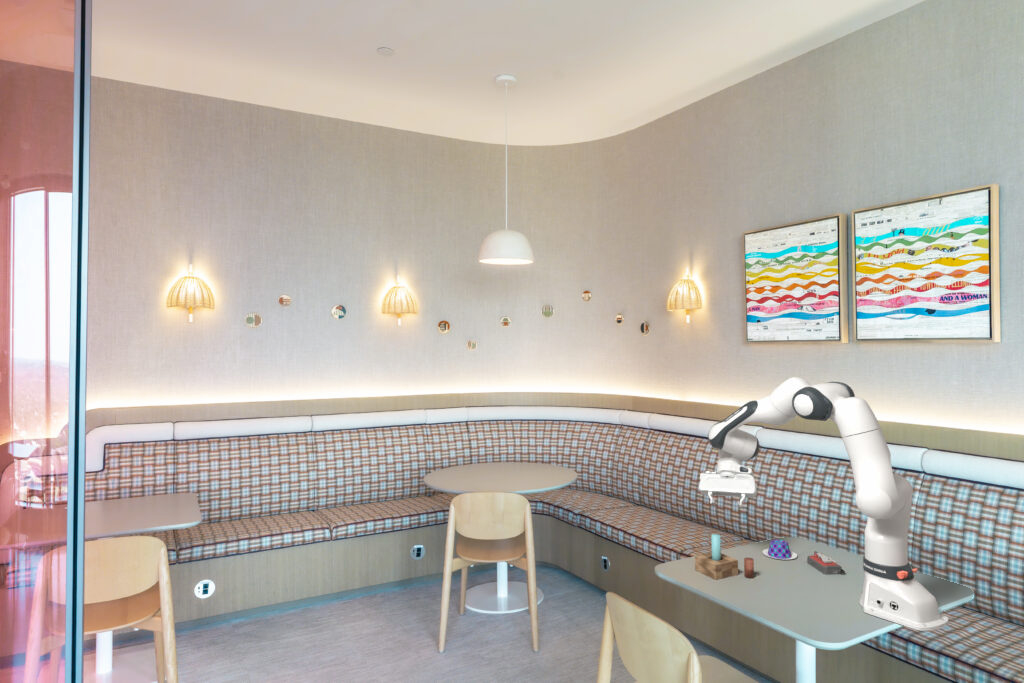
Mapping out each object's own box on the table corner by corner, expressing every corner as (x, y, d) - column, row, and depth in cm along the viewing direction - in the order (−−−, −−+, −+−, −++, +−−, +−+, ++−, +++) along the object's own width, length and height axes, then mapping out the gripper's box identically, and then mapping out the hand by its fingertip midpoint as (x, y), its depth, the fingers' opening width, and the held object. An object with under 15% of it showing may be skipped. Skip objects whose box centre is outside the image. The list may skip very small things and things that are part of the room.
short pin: (755, 577, 208) (755, 559, 208) (749, 579, 206) (749, 561, 206) (748, 574, 210) (748, 557, 210) (742, 575, 209) (742, 558, 209)
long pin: (722, 573, 212) (722, 535, 212) (716, 574, 211) (715, 536, 211) (716, 570, 215) (716, 533, 215) (710, 571, 213) (709, 534, 213)
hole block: (738, 574, 210) (737, 560, 210) (715, 580, 206) (715, 565, 206) (716, 565, 219) (716, 551, 219) (695, 570, 215) (695, 555, 215)
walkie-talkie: (851, 576, 208) (817, 555, 228) (850, 563, 208) (817, 543, 228) (826, 577, 208) (795, 556, 228) (826, 564, 208) (794, 544, 228)
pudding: (787, 564, 220) (787, 549, 220) (756, 555, 229) (755, 541, 229) (803, 556, 228) (803, 542, 228) (772, 547, 237) (772, 534, 237)
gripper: (699, 466, 234) (695, 498, 225) (756, 469, 224) (754, 503, 216) (702, 475, 238) (698, 507, 230) (758, 478, 228) (756, 512, 220)
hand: (726, 505), depth 223 cm, fingers open, 8 cm apart
